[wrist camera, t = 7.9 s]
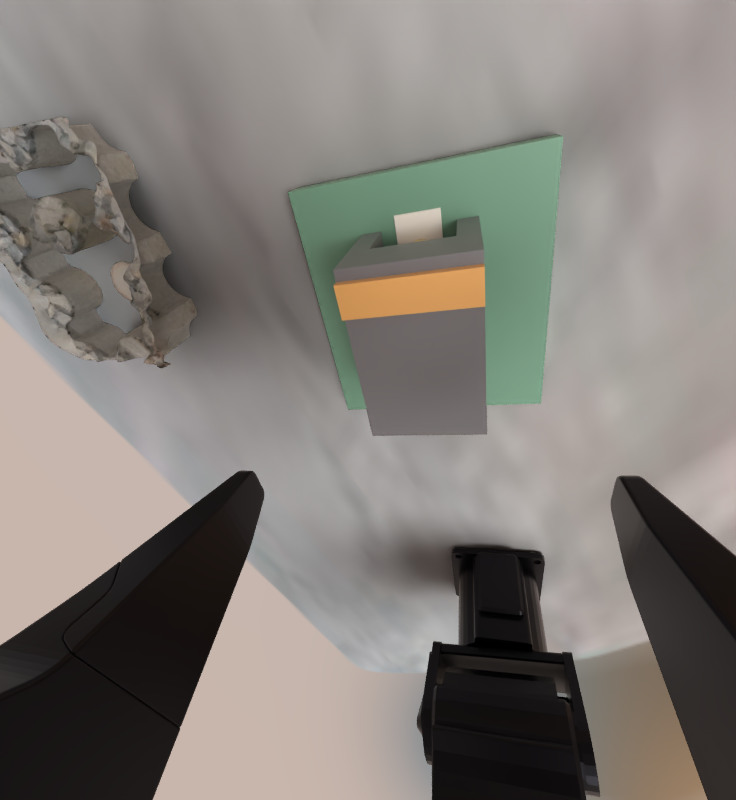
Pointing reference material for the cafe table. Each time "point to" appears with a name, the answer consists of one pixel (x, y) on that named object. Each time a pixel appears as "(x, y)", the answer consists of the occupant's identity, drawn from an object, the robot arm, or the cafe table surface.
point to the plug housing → (418, 331)
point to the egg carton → (84, 247)
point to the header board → (437, 218)
